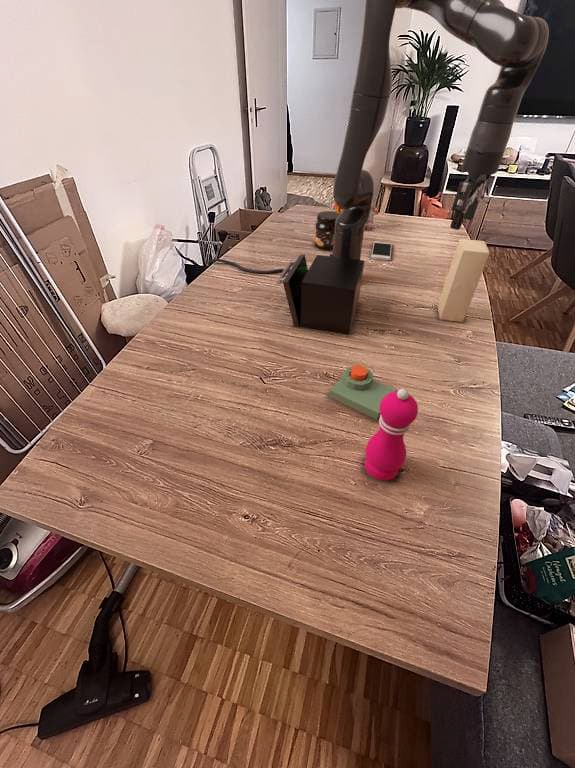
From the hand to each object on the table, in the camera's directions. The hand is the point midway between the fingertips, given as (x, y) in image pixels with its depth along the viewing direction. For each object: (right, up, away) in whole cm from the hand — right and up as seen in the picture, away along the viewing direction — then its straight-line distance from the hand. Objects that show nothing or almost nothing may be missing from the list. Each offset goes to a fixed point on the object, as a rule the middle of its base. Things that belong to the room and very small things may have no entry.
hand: (461, 223), depth 91 cm
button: (-26, -37, -6) cm, 46 cm away
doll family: (-15, +29, +74) cm, 81 cm away
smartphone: (-6, +13, +55) cm, 57 cm away
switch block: (-25, -42, -6) cm, 49 cm away
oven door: (-39, -17, +22) cm, 48 cm away
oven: (-30, -19, +20) cm, 40 cm away
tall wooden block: (+7, -18, +21) cm, 29 cm away
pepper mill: (-25, -55, -20) cm, 63 cm away
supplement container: (-26, +16, +59) cm, 67 cm away
